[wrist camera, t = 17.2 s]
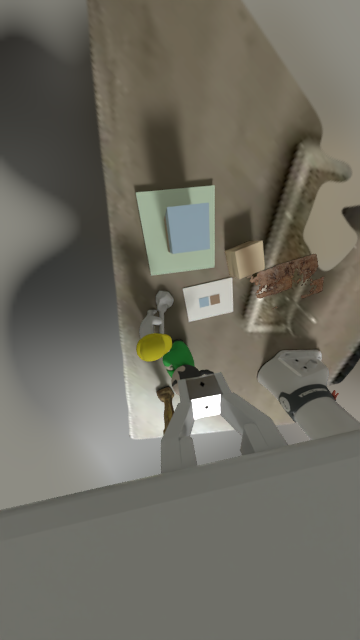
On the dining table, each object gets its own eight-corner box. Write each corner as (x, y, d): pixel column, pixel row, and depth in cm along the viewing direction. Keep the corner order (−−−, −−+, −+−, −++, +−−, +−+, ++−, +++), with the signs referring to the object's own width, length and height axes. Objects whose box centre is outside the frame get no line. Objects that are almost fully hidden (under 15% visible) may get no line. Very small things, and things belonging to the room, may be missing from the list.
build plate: (212, 187, 28) (214, 185, 27) (213, 266, 34) (214, 267, 33) (136, 194, 27) (135, 192, 26) (151, 274, 33) (151, 275, 32)
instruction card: (231, 277, 36) (232, 277, 35) (232, 311, 40) (233, 311, 40) (182, 288, 35) (182, 288, 35) (188, 321, 39) (189, 322, 39)
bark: (326, 245, 35) (329, 245, 35) (322, 290, 41) (324, 290, 40) (239, 280, 37) (240, 280, 36) (246, 319, 42) (247, 319, 42)
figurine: (181, 322, 39) (193, 362, 26) (148, 333, 39) (143, 378, 26) (169, 286, 35) (176, 312, 21) (131, 299, 35) (115, 332, 22)
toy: (158, 340, 41) (158, 386, 27) (196, 327, 41) (216, 367, 27) (169, 365, 45) (175, 415, 32) (205, 353, 45) (224, 398, 32)
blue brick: (199, 210, 24) (208, 202, 19) (201, 248, 26) (209, 249, 22) (165, 214, 24) (166, 207, 19) (170, 252, 26) (172, 253, 22)
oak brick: (248, 241, 33) (262, 240, 28) (251, 266, 35) (264, 269, 31) (224, 250, 33) (234, 251, 28) (229, 274, 35) (239, 279, 31)
